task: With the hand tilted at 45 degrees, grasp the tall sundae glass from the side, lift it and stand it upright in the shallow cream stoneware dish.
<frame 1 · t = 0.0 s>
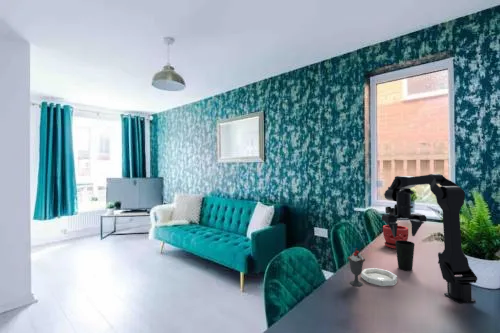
hand: (404, 236, 122), 15 cm above the table, tool pointing down, fingers open, 9 cm apart
cup: (405, 268, 121), on the table
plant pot: (395, 247, 154), on the table
sundae: (356, 284, 106), on the table
dish: (378, 278, 110), on the table
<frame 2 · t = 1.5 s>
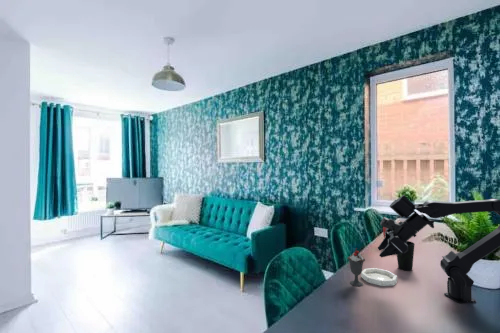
hand: (379, 252, 103), 13 cm above the table, tool tilted 45°, fingers open, 9 cm apart
nothing on the table moved.
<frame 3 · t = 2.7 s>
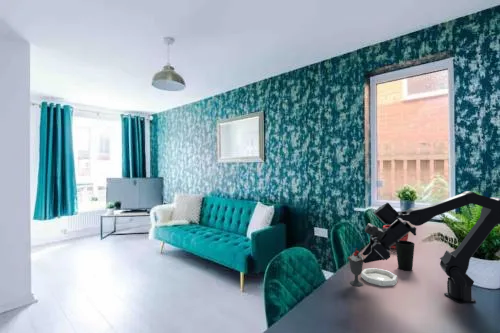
hand: (363, 258, 105), 11 cm above the table, tool tilted 45°, fingers open, 9 cm apart
nothing on the table moved.
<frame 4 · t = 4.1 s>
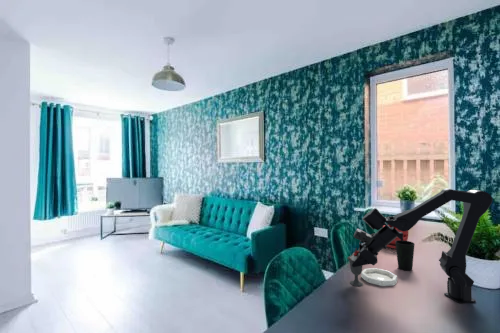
hand: (352, 263, 107), 8 cm above the table, tool tilted 45°, fingers closed on sundae, 7 cm apart
sundae: (356, 284, 106), on the table, touching gripper
everything else where it was.
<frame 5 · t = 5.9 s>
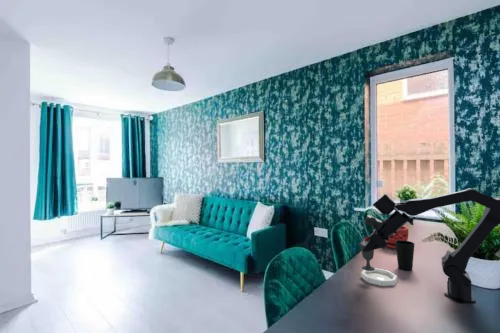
hand: (364, 248, 109), 13 cm above the table, tool tilted 45°, fingers closed on sundae, 7 cm apart
sundae: (368, 269, 109), point 5 cm above the table, touching gripper
everything else where it was.
when the fingers open (10 cm above the table, at t = 7.6 s): sundae drops 1 cm, resting on dish.
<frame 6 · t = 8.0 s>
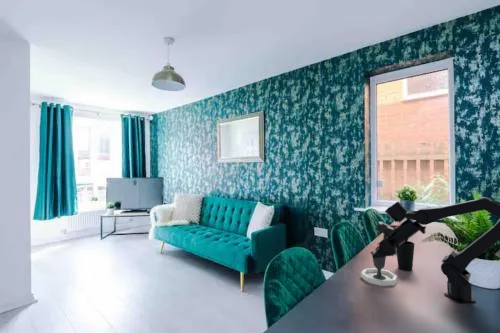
hand: (374, 254, 111), 10 cm above the table, tool tilted 45°, fingers open, 9 cm apart
sundae: (379, 277, 110), resting on dish
everything else where it was.
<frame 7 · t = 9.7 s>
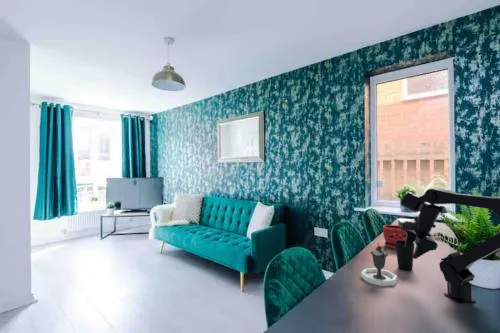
hand: (410, 252, 106), 12 cm above the table, tool tilted 20°, fingers open, 9 cm apart
nothing on the table moved.
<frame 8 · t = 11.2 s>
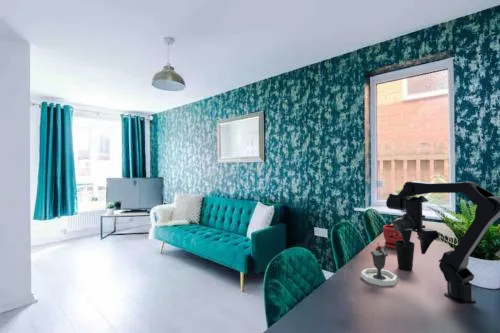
hand: (414, 250, 107), 13 cm above the table, tool pointing down, fingers open, 9 cm apart
nothing on the table moved.
at the end: sundae 0.2 cm from the dish (horizontally); sundae tilted 0°; the gripper is holding nothing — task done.
